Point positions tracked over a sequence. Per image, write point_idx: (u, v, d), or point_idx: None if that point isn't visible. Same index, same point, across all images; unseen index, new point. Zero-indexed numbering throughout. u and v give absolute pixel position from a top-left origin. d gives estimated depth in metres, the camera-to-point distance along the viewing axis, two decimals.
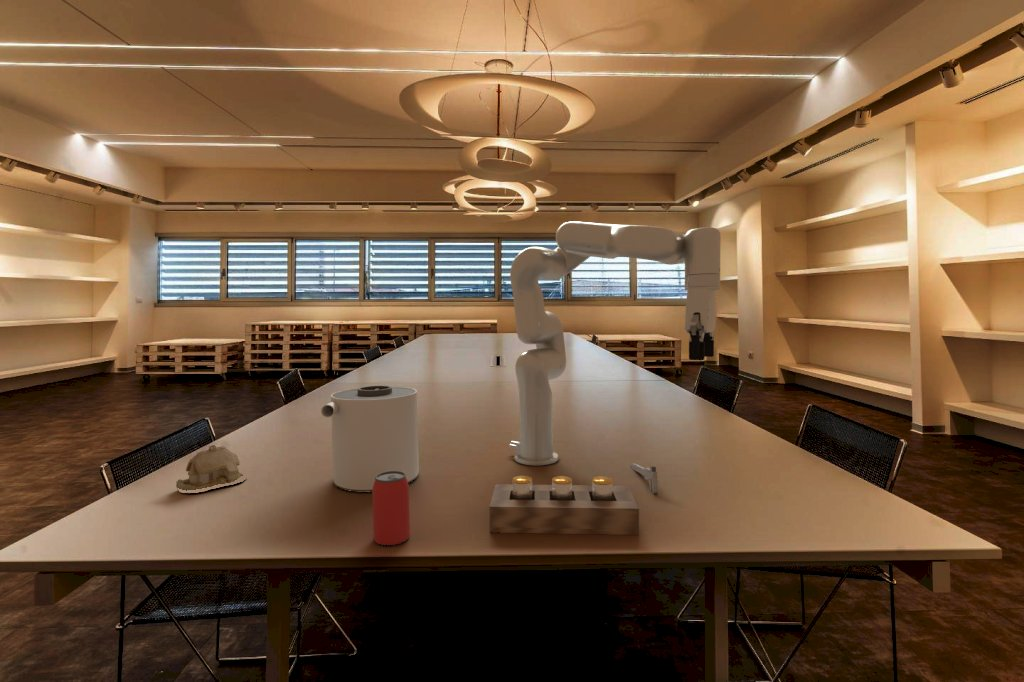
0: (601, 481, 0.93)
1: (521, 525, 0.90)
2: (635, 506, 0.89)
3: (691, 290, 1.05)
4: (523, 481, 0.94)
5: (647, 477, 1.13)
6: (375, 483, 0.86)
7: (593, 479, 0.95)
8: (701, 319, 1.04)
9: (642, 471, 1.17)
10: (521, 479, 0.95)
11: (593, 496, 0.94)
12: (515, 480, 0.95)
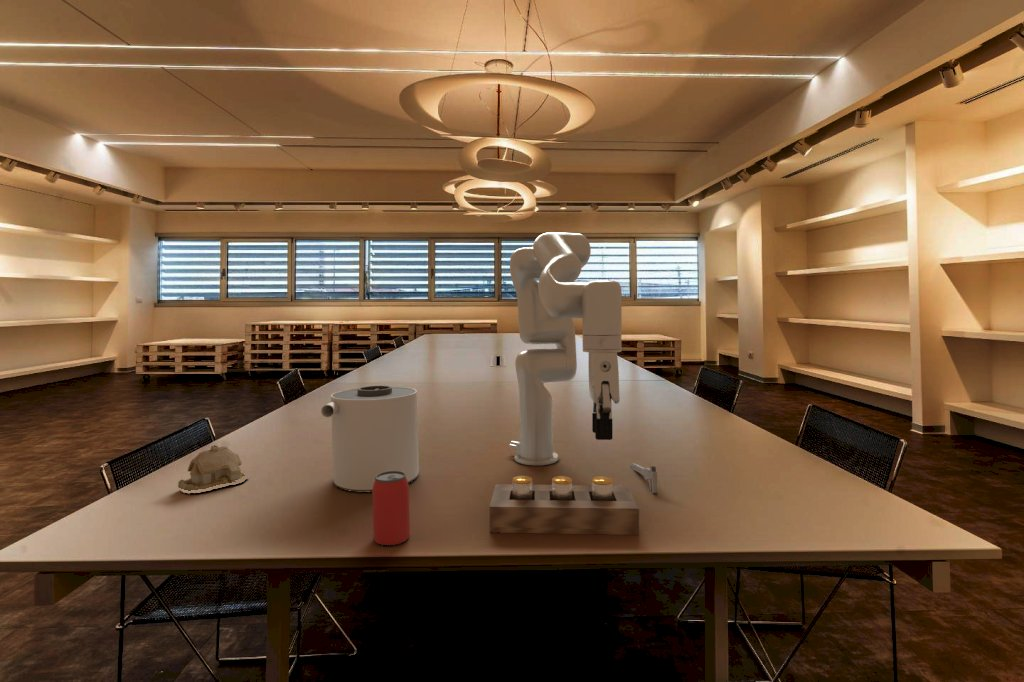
0: (601, 481, 0.93)
1: (521, 525, 0.90)
2: (635, 506, 0.89)
3: None
4: (523, 481, 0.94)
5: (647, 477, 1.13)
6: (375, 483, 0.86)
7: (593, 479, 0.95)
8: None
9: (642, 471, 1.17)
10: (521, 479, 0.95)
11: (593, 496, 0.94)
12: (515, 480, 0.95)
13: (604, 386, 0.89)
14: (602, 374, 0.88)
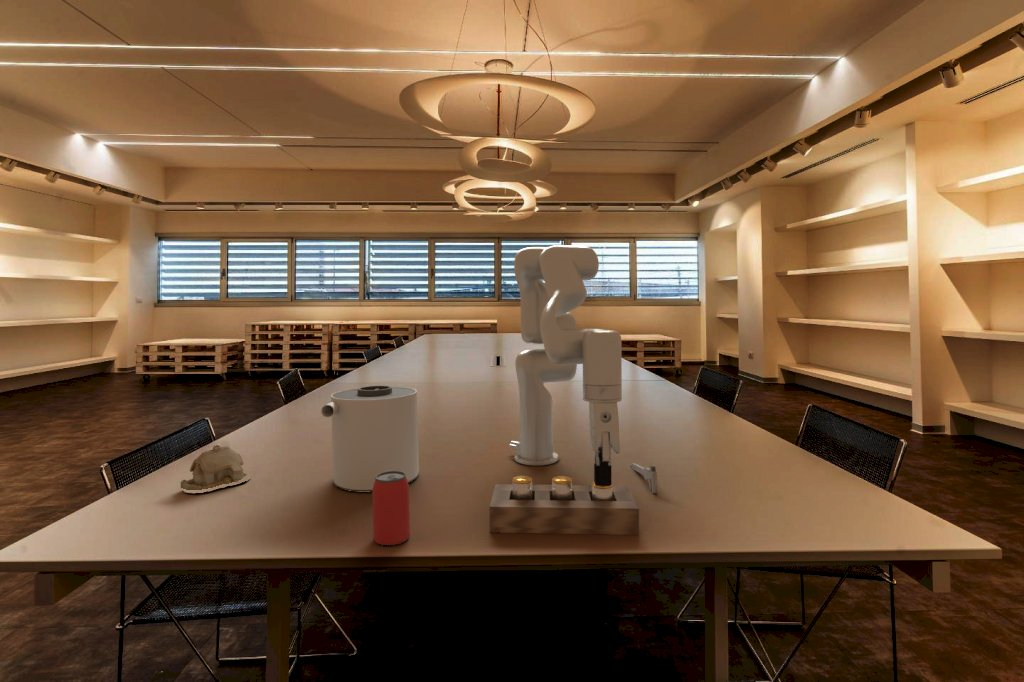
0: None
1: (521, 525, 0.90)
2: (635, 506, 0.89)
3: None
4: (523, 481, 0.94)
5: (647, 477, 1.13)
6: (375, 483, 0.86)
7: (593, 483, 0.95)
8: None
9: (642, 471, 1.17)
10: (521, 479, 0.95)
11: (593, 500, 0.94)
12: (515, 480, 0.95)
13: (604, 438, 0.89)
14: (602, 425, 0.89)
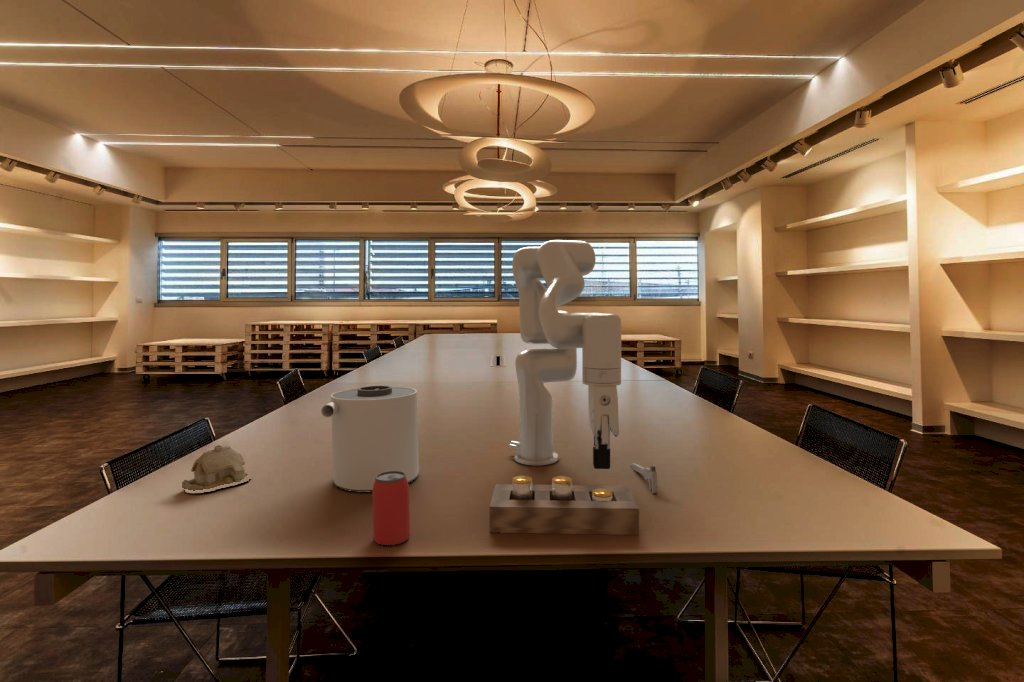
0: (601, 494, 0.94)
1: (521, 525, 0.90)
2: (635, 506, 0.89)
3: None
4: (523, 481, 0.94)
5: (647, 477, 1.13)
6: (375, 483, 0.86)
7: (593, 492, 0.95)
8: None
9: (642, 471, 1.17)
10: (521, 479, 0.95)
11: None
12: (515, 480, 0.95)
13: (603, 422, 0.89)
14: (602, 408, 0.89)
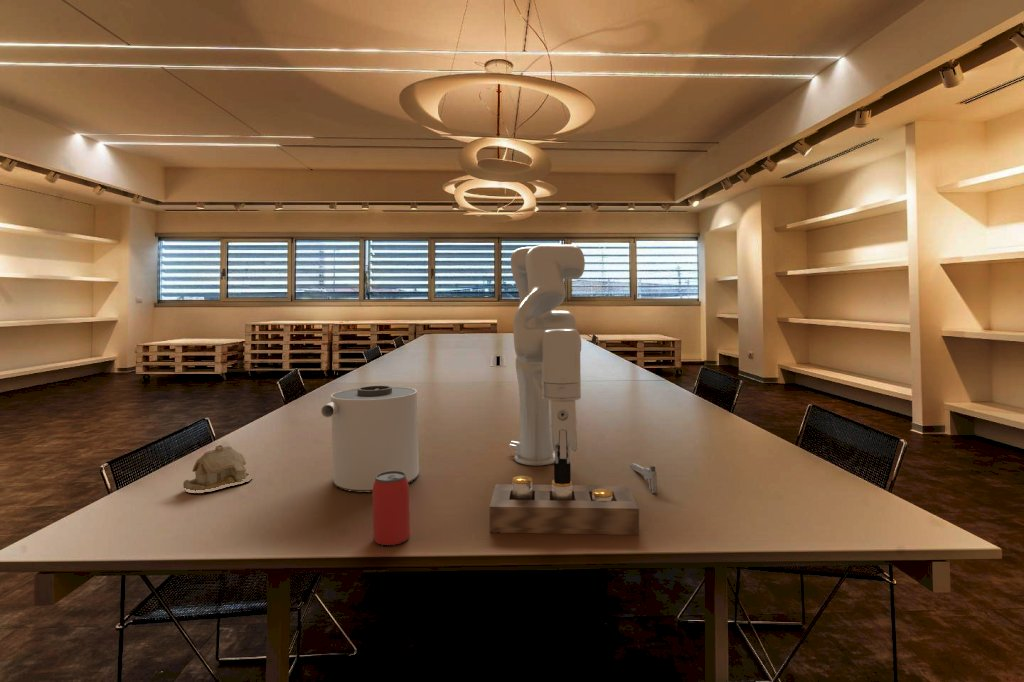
0: (601, 494, 0.94)
1: (521, 525, 0.90)
2: (635, 506, 0.89)
3: None
4: (523, 481, 0.94)
5: (646, 477, 1.13)
6: (375, 483, 0.86)
7: (593, 492, 0.95)
8: None
9: (642, 471, 1.17)
10: (521, 479, 0.95)
11: None
12: (515, 480, 0.95)
13: (562, 436, 0.90)
14: (560, 423, 0.89)
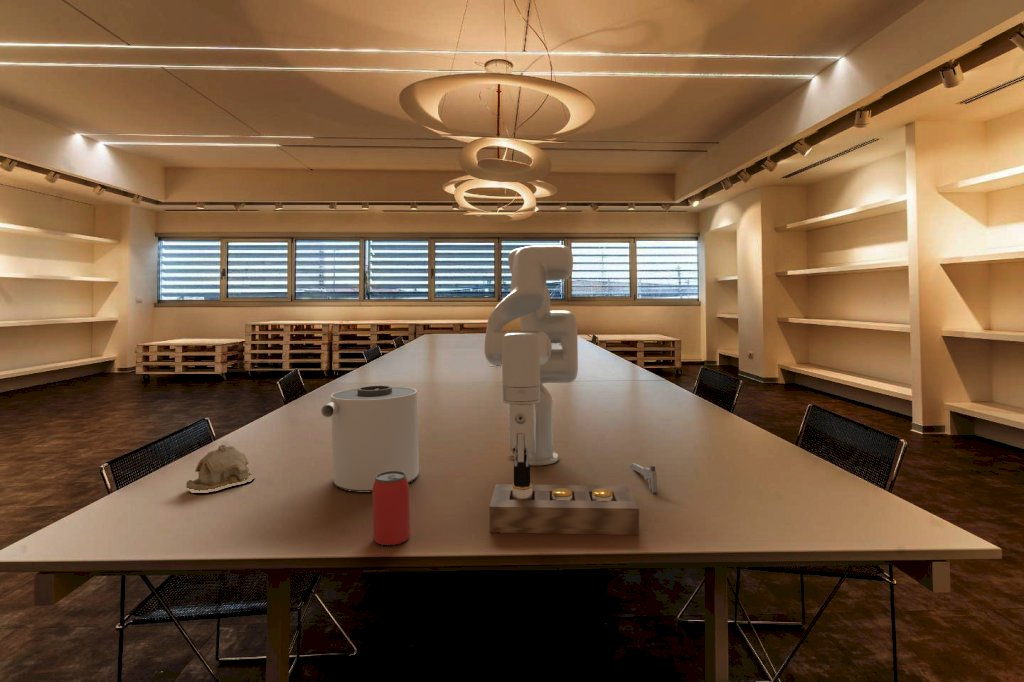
0: (601, 494, 0.94)
1: (521, 525, 0.90)
2: (635, 506, 0.89)
3: None
4: (523, 487, 0.94)
5: (646, 477, 1.13)
6: (375, 483, 0.86)
7: (593, 492, 0.95)
8: None
9: (641, 471, 1.17)
10: None
11: None
12: (515, 486, 0.95)
13: (519, 440, 0.90)
14: (517, 426, 0.90)
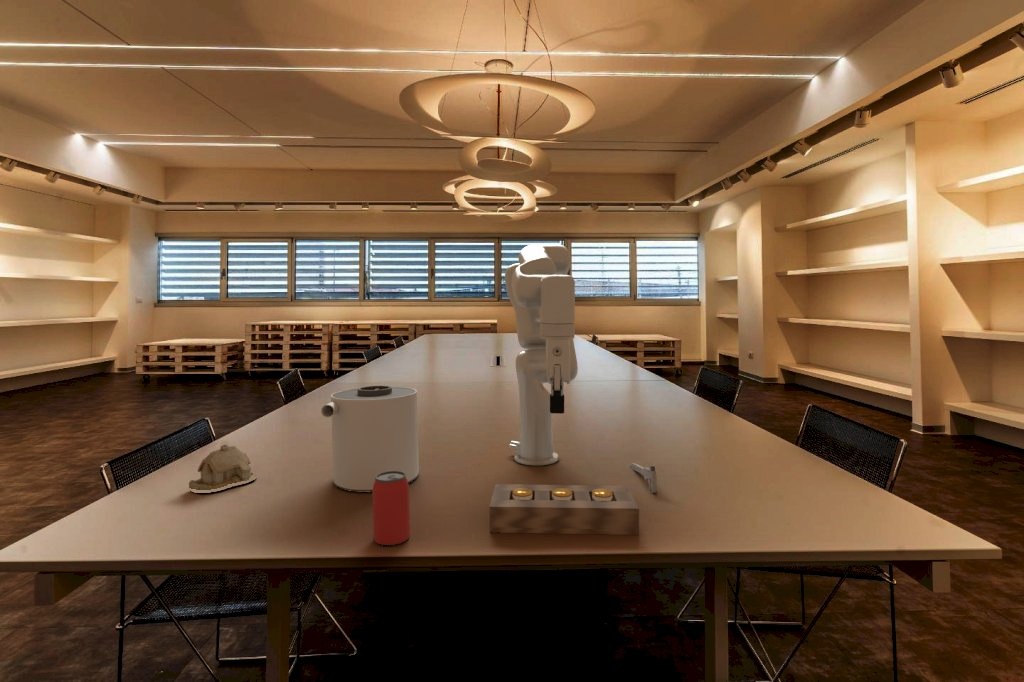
0: (601, 494, 0.94)
1: (521, 525, 0.90)
2: (635, 506, 0.89)
3: None
4: (523, 494, 0.94)
5: (646, 477, 1.13)
6: (375, 483, 0.86)
7: (593, 492, 0.95)
8: None
9: (641, 471, 1.17)
10: (521, 491, 0.95)
11: None
12: (515, 493, 0.95)
13: (556, 370, 1.01)
14: (554, 358, 1.00)
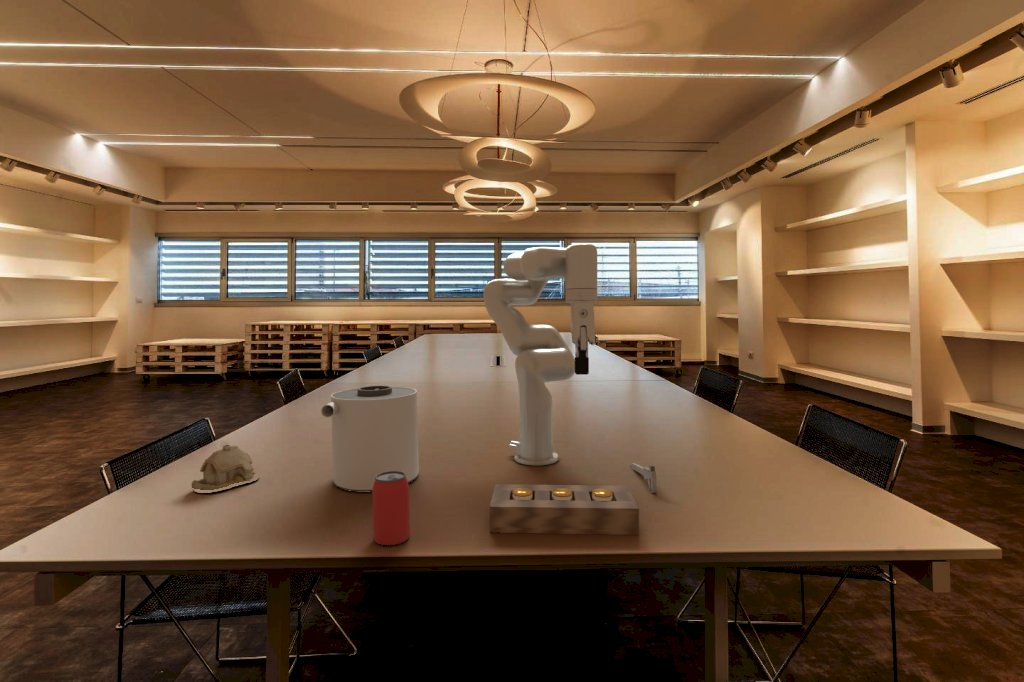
0: (601, 494, 0.94)
1: (521, 525, 0.90)
2: (635, 506, 0.89)
3: None
4: (523, 494, 0.94)
5: (646, 477, 1.13)
6: (375, 483, 0.86)
7: (593, 492, 0.95)
8: None
9: (641, 471, 1.17)
10: (521, 491, 0.95)
11: None
12: (515, 493, 0.95)
13: (582, 332, 1.08)
14: (580, 320, 1.08)
